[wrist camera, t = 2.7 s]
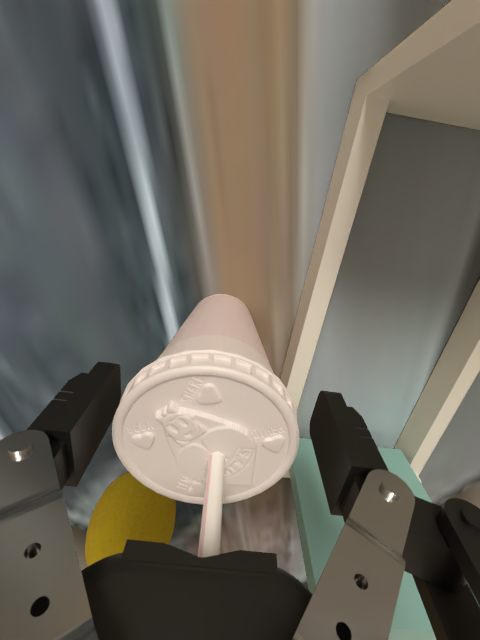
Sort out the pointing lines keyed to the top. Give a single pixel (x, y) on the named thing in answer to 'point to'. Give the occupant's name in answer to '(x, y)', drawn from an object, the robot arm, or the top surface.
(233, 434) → the smoothie
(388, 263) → the top surface
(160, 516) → the lemon
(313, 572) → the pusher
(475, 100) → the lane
